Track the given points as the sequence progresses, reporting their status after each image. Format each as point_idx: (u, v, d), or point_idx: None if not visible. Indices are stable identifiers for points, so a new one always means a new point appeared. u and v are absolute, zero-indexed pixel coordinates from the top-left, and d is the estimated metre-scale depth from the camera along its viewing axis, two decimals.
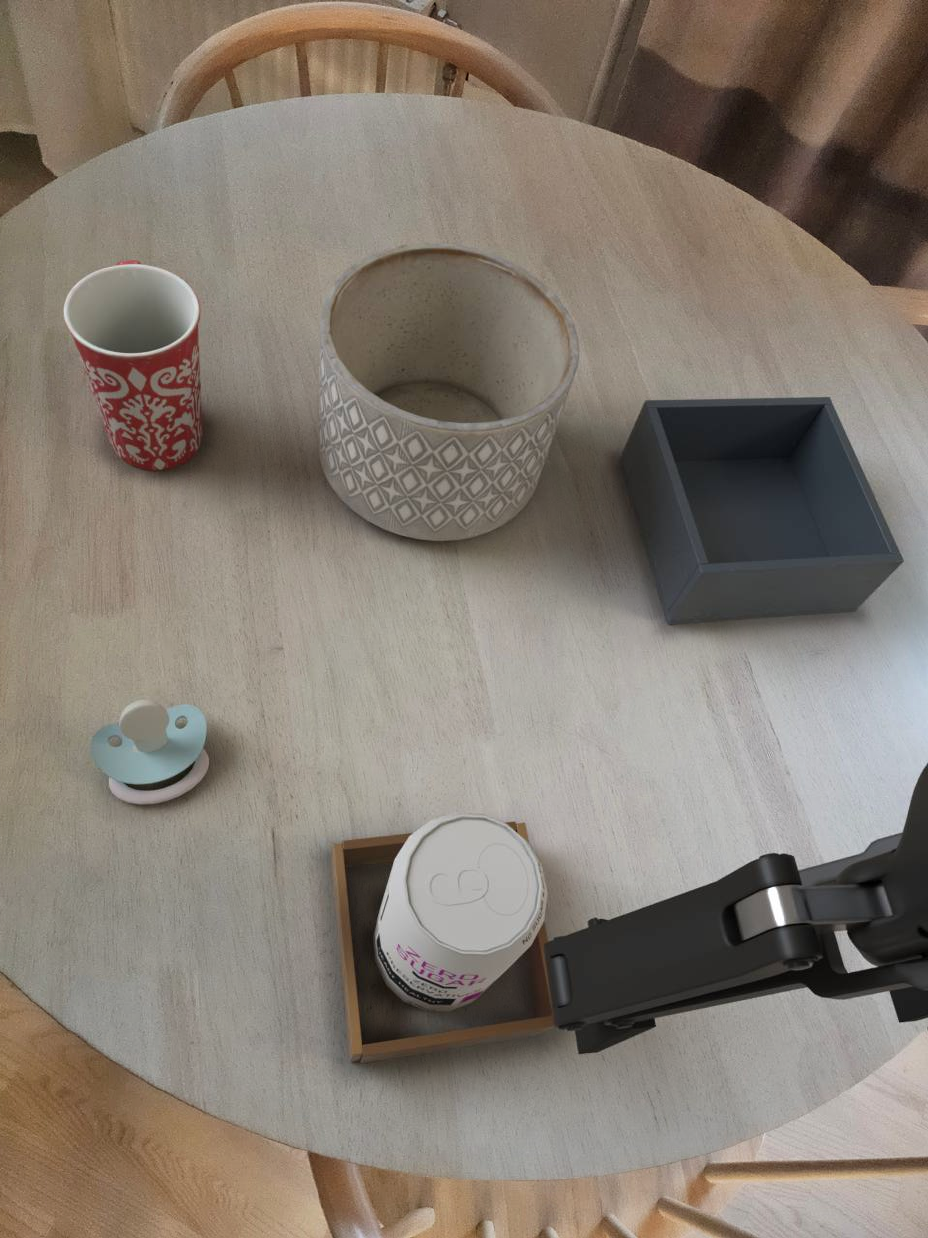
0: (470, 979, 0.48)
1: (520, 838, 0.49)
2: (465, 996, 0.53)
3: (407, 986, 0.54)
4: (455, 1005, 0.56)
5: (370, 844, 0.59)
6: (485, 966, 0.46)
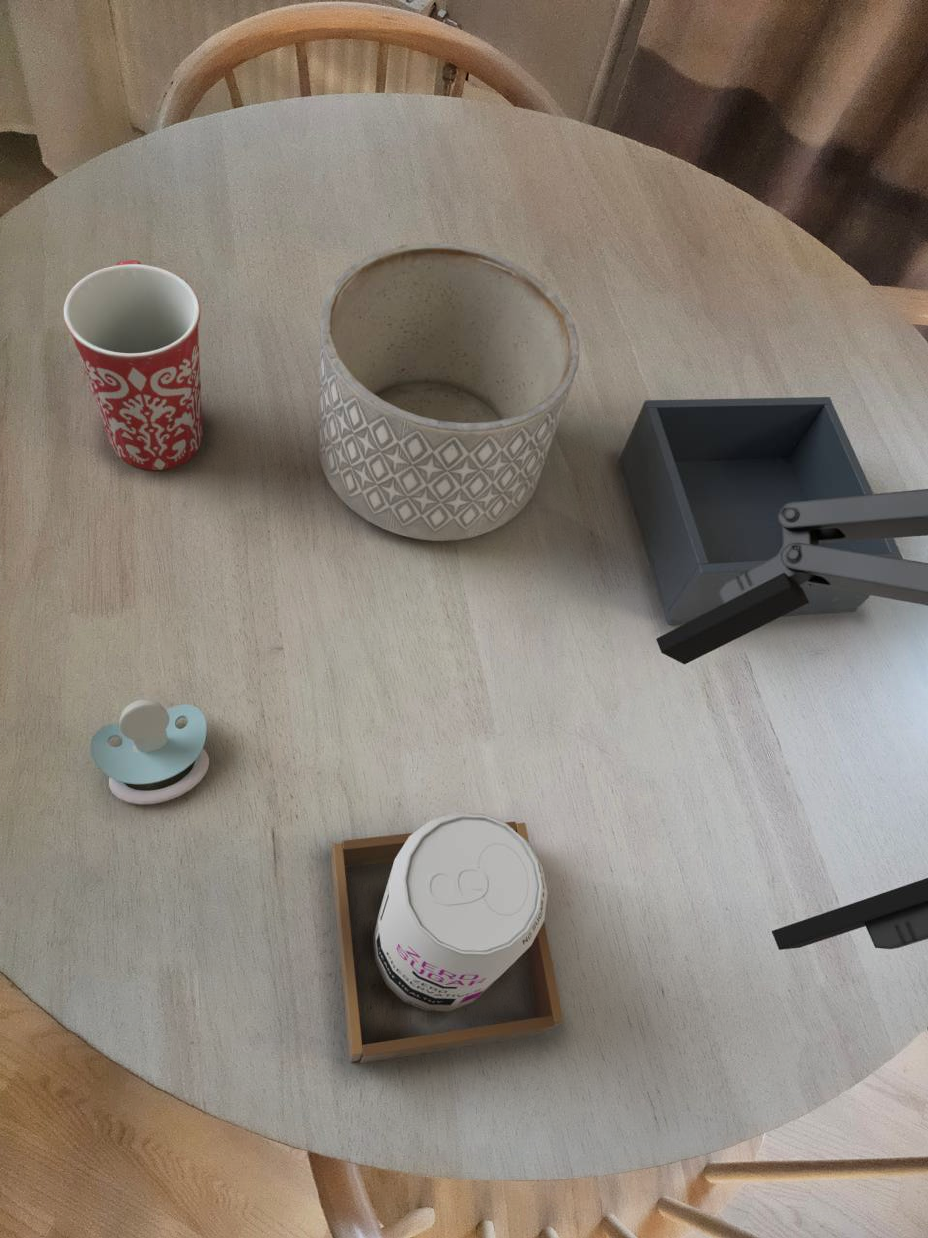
0: (470, 979, 0.48)
1: (520, 838, 0.49)
2: (465, 996, 0.53)
3: (407, 986, 0.54)
4: (455, 1005, 0.56)
5: (370, 844, 0.59)
6: (486, 966, 0.46)
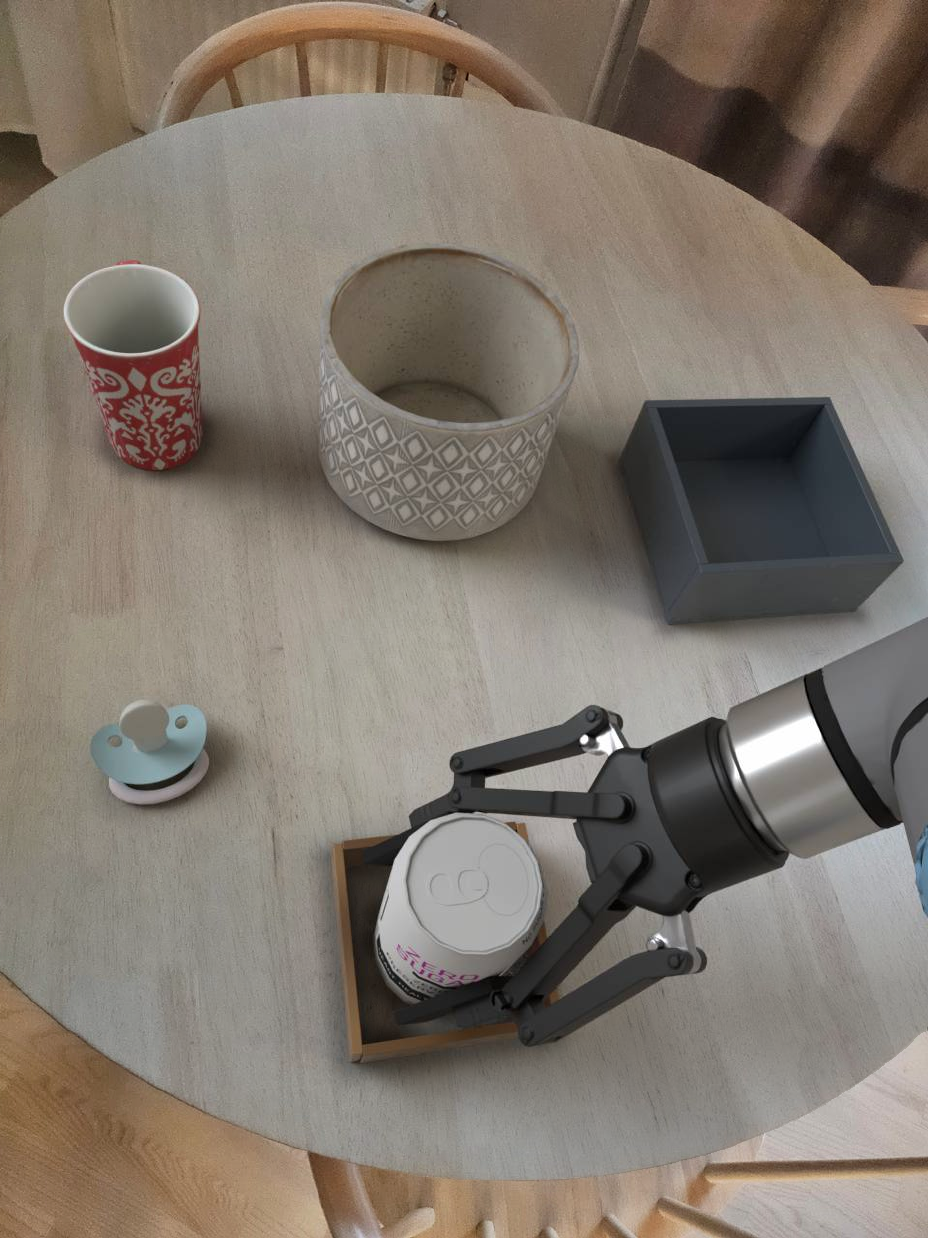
0: (470, 979, 0.48)
1: (520, 838, 0.49)
2: None
3: (407, 986, 0.54)
4: None
5: (370, 844, 0.59)
6: (486, 966, 0.46)
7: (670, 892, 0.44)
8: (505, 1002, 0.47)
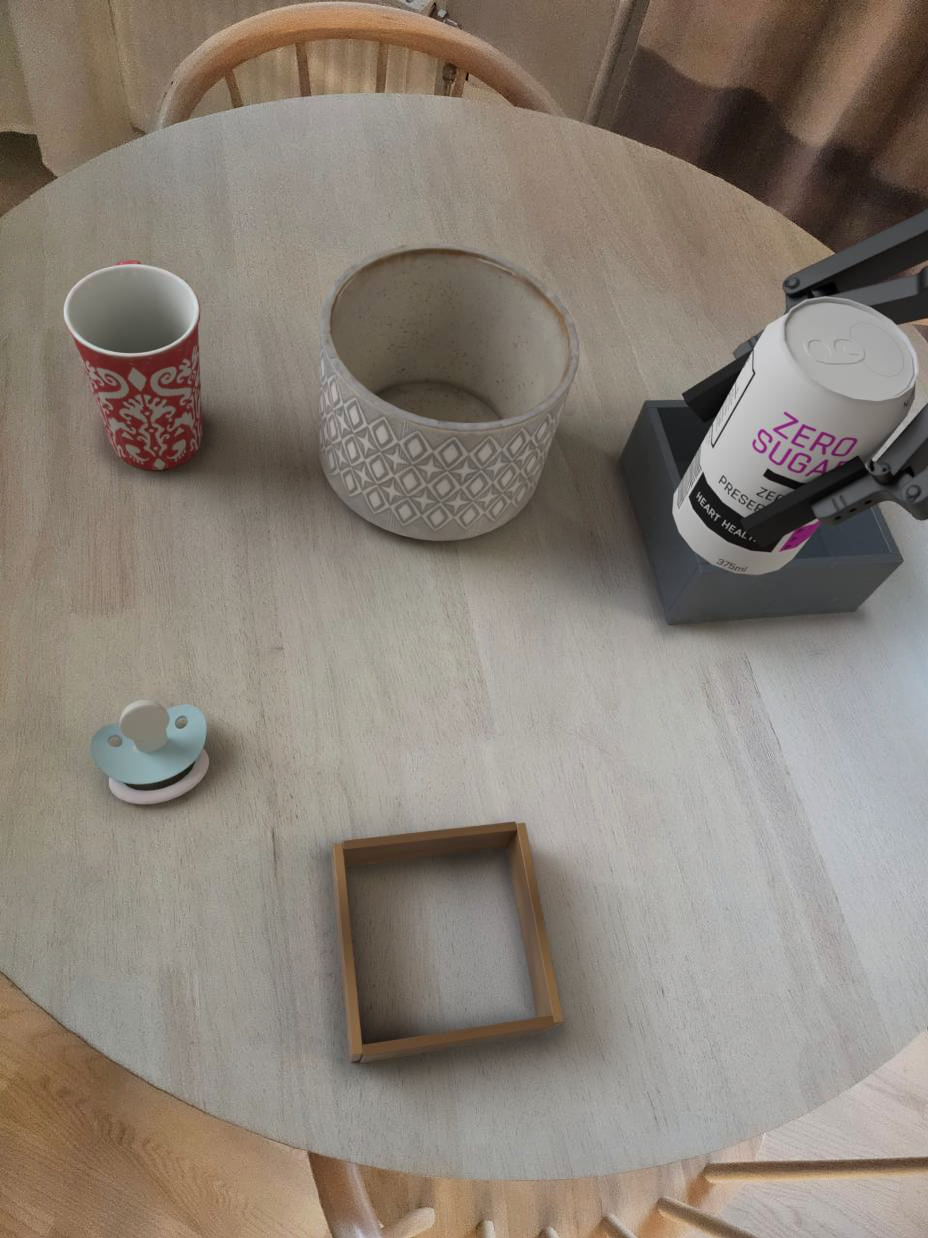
0: (841, 454, 0.47)
1: (886, 319, 0.48)
2: None
3: (737, 518, 0.53)
4: (774, 554, 0.55)
5: (370, 844, 0.59)
6: (871, 422, 0.45)
7: None
8: None
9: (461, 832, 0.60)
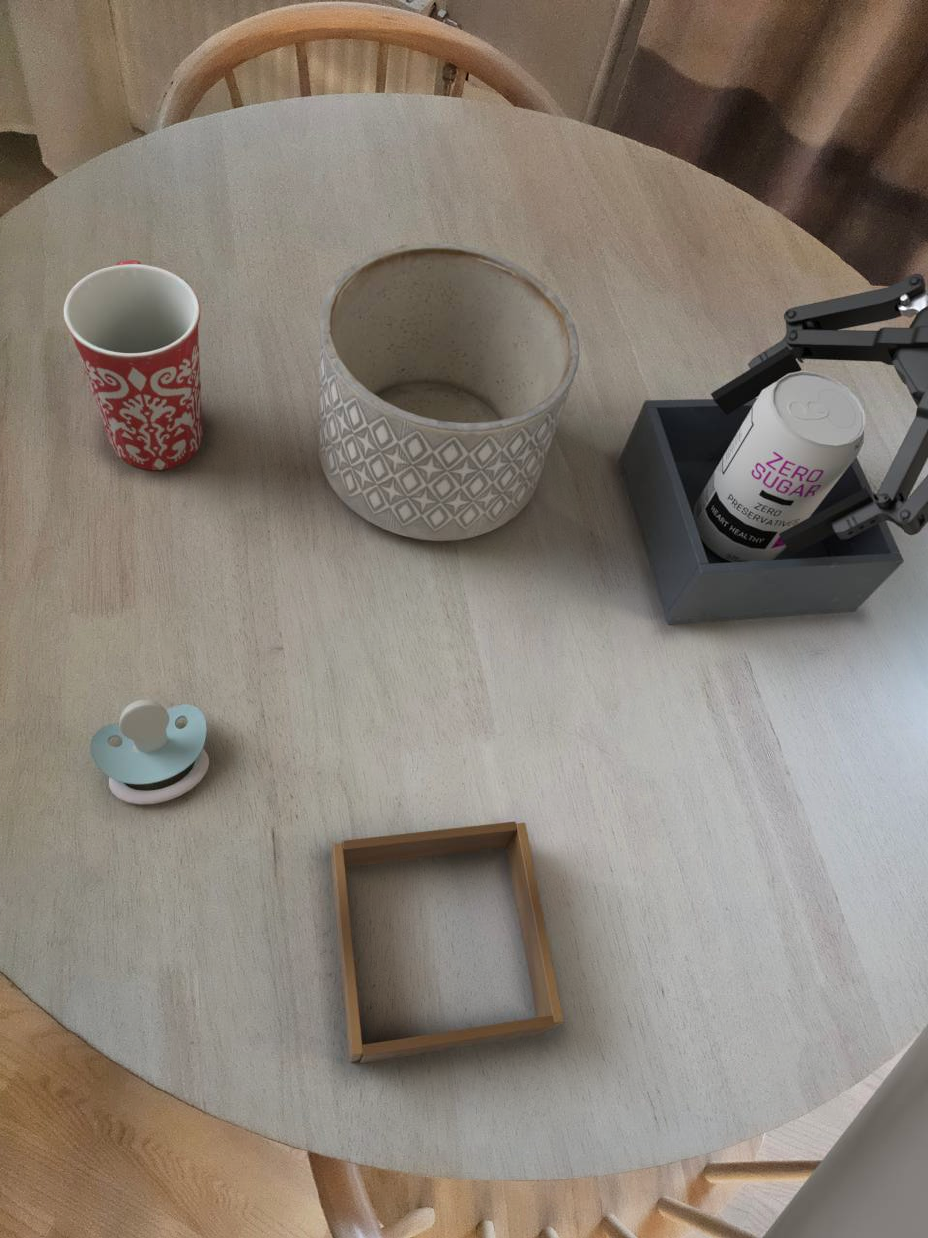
0: (813, 481, 0.68)
1: (844, 386, 0.69)
2: (785, 528, 0.73)
3: (740, 524, 0.74)
4: (767, 550, 0.76)
5: (370, 844, 0.59)
6: (832, 459, 0.66)
7: None
8: None
9: (461, 832, 0.60)
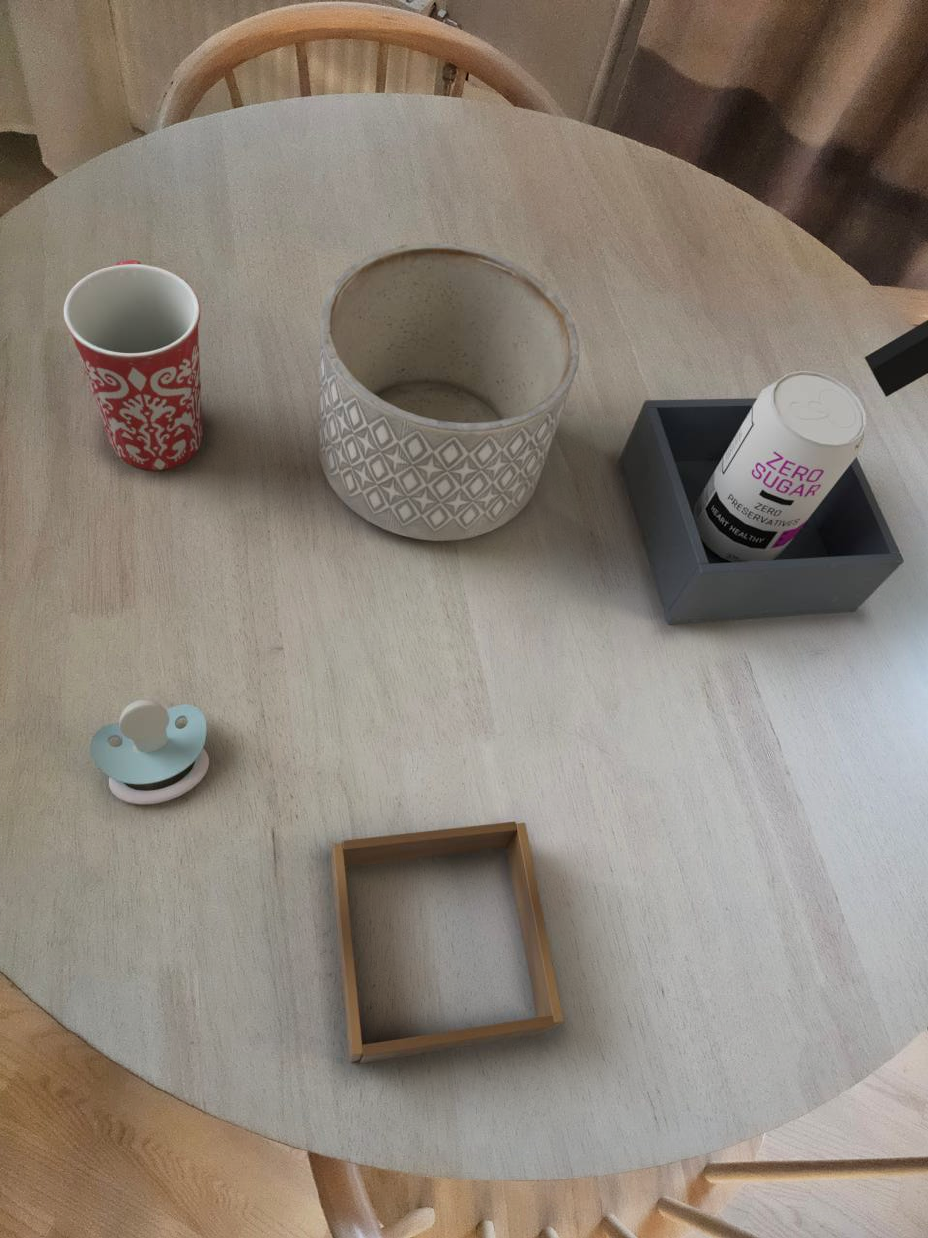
0: (813, 480, 0.68)
1: (844, 386, 0.69)
2: (785, 528, 0.73)
3: (740, 524, 0.74)
4: (767, 550, 0.76)
5: (370, 844, 0.59)
6: (832, 459, 0.66)
7: None
8: None
9: (461, 832, 0.60)
